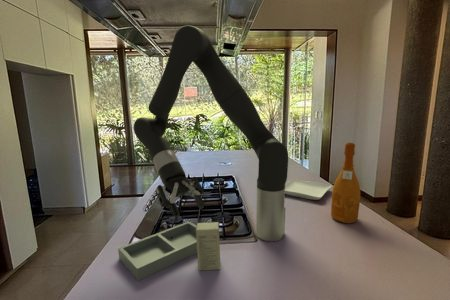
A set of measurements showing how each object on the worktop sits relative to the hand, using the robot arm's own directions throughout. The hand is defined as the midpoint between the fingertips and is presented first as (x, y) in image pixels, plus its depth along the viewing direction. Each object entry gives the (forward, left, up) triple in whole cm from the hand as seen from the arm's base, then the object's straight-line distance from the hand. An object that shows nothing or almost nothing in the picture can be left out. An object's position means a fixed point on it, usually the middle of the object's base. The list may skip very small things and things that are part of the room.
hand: (190, 212), depth 77 cm
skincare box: (0, +8, -14) cm, 16 cm away
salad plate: (-72, -5, -14) cm, 73 cm away
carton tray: (+5, -6, -13) cm, 15 cm away
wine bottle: (-57, +21, -14) cm, 62 cm away
